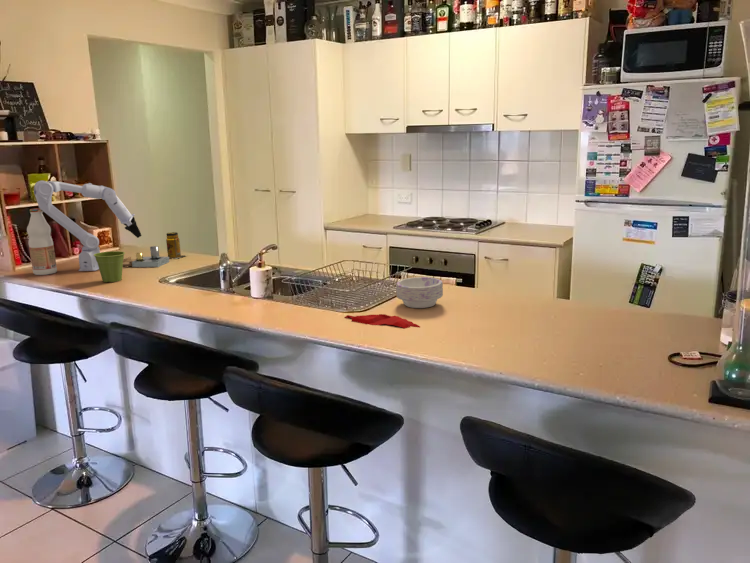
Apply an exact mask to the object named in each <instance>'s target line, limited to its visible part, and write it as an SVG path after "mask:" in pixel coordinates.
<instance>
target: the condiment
mask: <svg viewBox="0 0 750 563" xmlns="http://www.w3.org/2000/svg"><path fill="white" fill-rule="evenodd" d="M165 239H166V240H165V242H166V250H167V252H166V253H167V257H169V259H170V258H173V259H174V260H175V259H180V258H183V257H186V256H187V254H186V255H185V254H183V255H182V253H181V243H180V238H179V233H178V232H176V231H173V232H167V233H166V238H165Z"/></svg>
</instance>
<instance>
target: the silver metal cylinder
mask: <svg viewBox="0 0 750 563" xmlns="http://www.w3.org/2000/svg"><path fill="white" fill-rule="evenodd" d="M149 250H150V257H151V260H153V259H160V258H159V257H160V249H159V246H158V245H153V246H149Z"/></svg>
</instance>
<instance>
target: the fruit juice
mask: <svg viewBox="0 0 750 563" xmlns="http://www.w3.org/2000/svg"><path fill="white" fill-rule="evenodd" d="M29 213H30V218H29V222H28V224H27V226H26V232H27V235H28V248H29V249H28V250H29V255H30V261H31V262H30V264H31V268H32V272H33V275H35V276H45V275H51V274H52V275H53V274H56V273H57V272H58V268H57V266H58V265H57V261H56V260H57V259H56V253H55V246H54V245H55V244H54V241H53V240H54V239H53V238H52V235H51V234H52V233H51V232H52V228H51V225H49V223H48V222H47V220H46V218H45V216H44V214H43V213H44V212H43V211H42V210H41V209H40V208H39V207H38V208H30V209H29Z"/></svg>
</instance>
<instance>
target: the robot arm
mask: <svg viewBox="0 0 750 563" xmlns="http://www.w3.org/2000/svg"><path fill="white" fill-rule="evenodd" d="M33 187H34V188H33V194H34V197H35V200H36V203H37V205H38V208H40V209H41V210H42V211H43V213H45V214H46V215H47V216H48V217H50V218H51V219H53V221H55V222H56V223H57V224H59V225H60V226H61V227H63V228H64V229H66V231H68V232H69V233H70V234H71V235H73V236H74V237H76V239H78V240H79V242H80V244H81V245H83V246H82V247H81V252H80V253H79V254H78V264H79V265H78V266H79V269H78V272H92V271H93V272H96V271H98V270H99V266H98V263H97V261H96V258H95V256H94V254H96V253H101V250H100V247H99V245H100V239H99V238H98V237H97V235H95V234H93V233H90V232H87V230H85V229H84V228H82V227H81V226H80V225H78V224H77V223H76V222H75V221H73V220H72V219H71V218H70V217H68V216H67V215H66V214H65V213H63V212H62V211H61V210H59V209H58V208H57V207H56V206H55V205H53V202H52V197H53V193H59V192H60V191H61V192H63V191H64V192H71V193H79V194H81V195H82V196H83V197H85V198H90V199H96V200H100V199H102V200H103V201H105V203H106V205H107V206H108V207H109V209H110V210H111V212H112V213H113V214H114V215H115V217H116V218H117V219H118V221H120V224H122V225H123V226H125V227H124V229H125V230H126V231H128V232H130V233H131V234H132V235H133V236H135V237H136V238H140V237H142V234H141V231H140V228H139V227H138V223H137V221H136V220H135V217H134V216H136V214H135V213H131V212H130V211H129V210H128V208H127V207H126V205H125V204H124V203H123V201H122V200H121V198H119V197H118V195H117V192H116V190H115V189H113V188H111V187H107V186H104V185H101V184H100V185H96V184H93V183H91V182H88V183H84V184H83V185H79V184H73V183H67V182H63V181H57V180H56V181H53V180H48V181H46V180H38V181H36V182H35V183H34V185H33Z"/></svg>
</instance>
